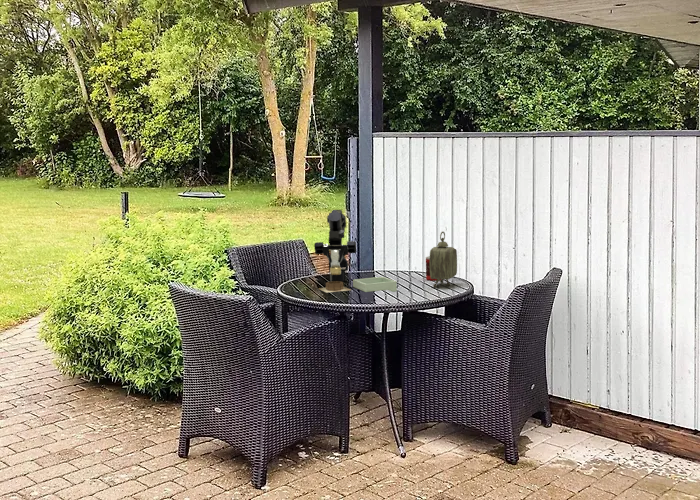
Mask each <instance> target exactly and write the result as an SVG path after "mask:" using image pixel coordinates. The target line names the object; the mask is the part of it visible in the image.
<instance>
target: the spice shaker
mask: <svg viewBox="0 0 700 500" xmlns="http://www.w3.org/2000/svg"><path fill="white" fill-rule="evenodd" d="M329 251H330V254H331V267H330V272H329V275H330V274H331V275H340V274H341V267H340V262H339V259H340V255H339V249H332V250H329Z"/></svg>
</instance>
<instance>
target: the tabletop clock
mask: <svg viewBox="0 0 700 500" xmlns="http://www.w3.org/2000/svg"><path fill="white" fill-rule="evenodd" d="M442 234H443V237H442ZM439 239H440V241H439V242H438V243H437V246H433V247H432V248H431V249H430V251H429V256H430V278H431V279H437V281H435V283H433V286H432V287H433V288H436V287H437V286H438V283H440V284H444V280H446V286H447V287H450V286H451V282H449V280H450V279H453V278H454V277H455V276H456V275H457V273H458V253H457V252H458V251H457V249H456V248H454V247H453V246H449V244H448V242H446V241H445V239H446V233H445V231H441V232H440V235H439ZM440 279H442V280H440Z"/></svg>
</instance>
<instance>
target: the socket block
mask: <svg viewBox="0 0 700 500" xmlns="http://www.w3.org/2000/svg"><path fill="white" fill-rule="evenodd" d="M318 289H319V290H320V291H322V292H324V293H326V294H327V293H334V292H335V293H337V292H346V291H352V289H350V288H348V287H346V286H344V281H343V282H341V281H331V282H330V281H327V282H325V287H319V288H318Z"/></svg>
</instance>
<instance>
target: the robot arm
mask: <svg viewBox="0 0 700 500" xmlns="http://www.w3.org/2000/svg"><path fill="white" fill-rule="evenodd" d="M326 222H327V224H328V226H329V231H328V243H324V241H323V242H321V241H320V242H319V241H317V242H315V243H314V246H313V247H314V252H315V253H314V254H315V255H323V256H325V257H326V258H327V259H328V270H329V282H331V281H341V282H343V283H344V282H346V272H347V271H349V261H348V260H347V258H346V255H349V254H356V253H357V242H356V241H351V240H350V241H349V240H348V241H346V244H343V241H342V240H343V239H344V238H345V232H346V228H347V218H346V215H344V214H343V210H341V209H333V210H331V212H329V213H328V214H327V216H326ZM332 249H339V255H340V259H339V262H340V267H341V274H340V275H331V274H330V267H331V253H330V250H332Z"/></svg>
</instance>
